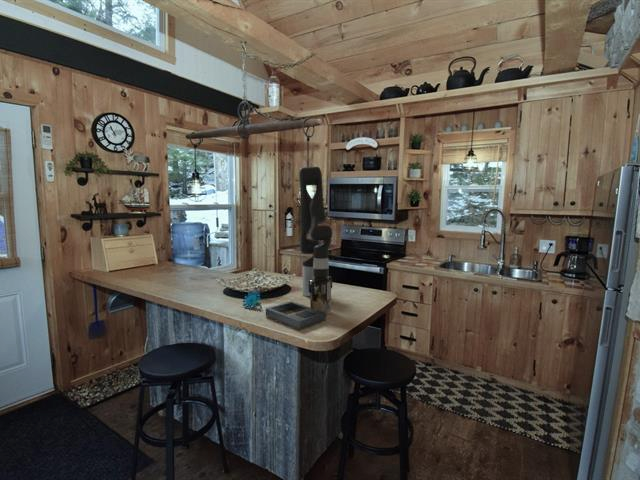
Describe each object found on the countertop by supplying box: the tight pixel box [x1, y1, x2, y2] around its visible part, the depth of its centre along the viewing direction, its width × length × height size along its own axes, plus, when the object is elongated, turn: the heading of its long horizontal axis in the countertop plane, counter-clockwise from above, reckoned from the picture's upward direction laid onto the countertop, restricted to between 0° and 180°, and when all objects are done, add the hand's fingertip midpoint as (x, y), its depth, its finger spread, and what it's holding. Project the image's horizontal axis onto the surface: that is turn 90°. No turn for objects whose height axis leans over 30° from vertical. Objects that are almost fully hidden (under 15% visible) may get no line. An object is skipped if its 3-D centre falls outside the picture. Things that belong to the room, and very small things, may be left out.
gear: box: [242, 290, 262, 309], centre depth 177 cm, size 11×6×10 cm
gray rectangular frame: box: [265, 300, 327, 331], centre depth 159 cm, size 16×24×4 cm, turn 45°
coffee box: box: [309, 279, 332, 316], centre depth 168 cm, size 9×6×16 cm
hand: (320, 299), depth 168 cm, fingers closed on coffee box, 8 cm apart
